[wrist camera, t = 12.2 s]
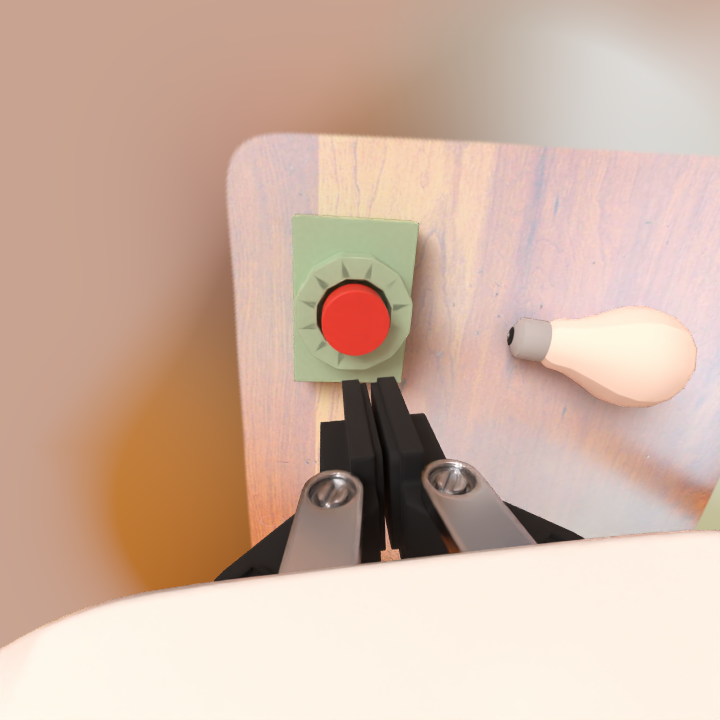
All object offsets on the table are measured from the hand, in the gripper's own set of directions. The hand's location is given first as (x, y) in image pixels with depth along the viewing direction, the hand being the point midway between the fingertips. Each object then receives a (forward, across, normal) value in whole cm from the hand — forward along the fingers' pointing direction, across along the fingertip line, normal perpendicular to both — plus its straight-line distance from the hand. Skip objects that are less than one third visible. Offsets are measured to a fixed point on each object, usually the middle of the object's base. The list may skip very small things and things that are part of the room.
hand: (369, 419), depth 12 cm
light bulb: (+14, -16, +3) cm, 22 cm away
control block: (+14, 0, 0) cm, 14 cm away
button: (+10, 0, 0) cm, 10 cm away
